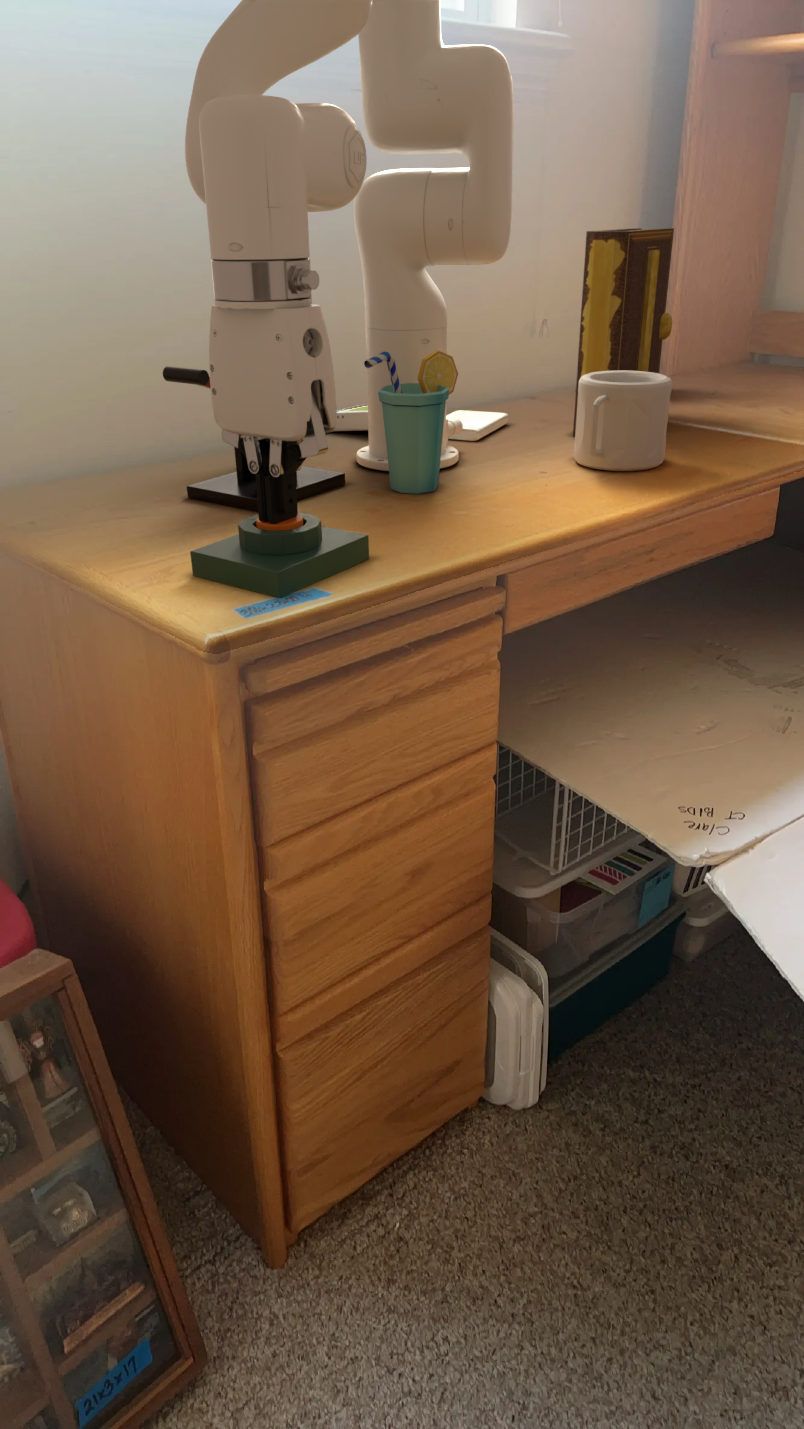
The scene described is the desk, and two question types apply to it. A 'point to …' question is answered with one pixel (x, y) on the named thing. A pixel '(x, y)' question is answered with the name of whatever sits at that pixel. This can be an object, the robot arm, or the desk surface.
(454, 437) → the hard drive
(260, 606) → the desk surface
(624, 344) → the book
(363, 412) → the handheld gaming console
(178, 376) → the lever
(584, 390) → the mug
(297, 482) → the bracket
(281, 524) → the button
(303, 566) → the control block
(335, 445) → the desk surface
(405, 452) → the cup
